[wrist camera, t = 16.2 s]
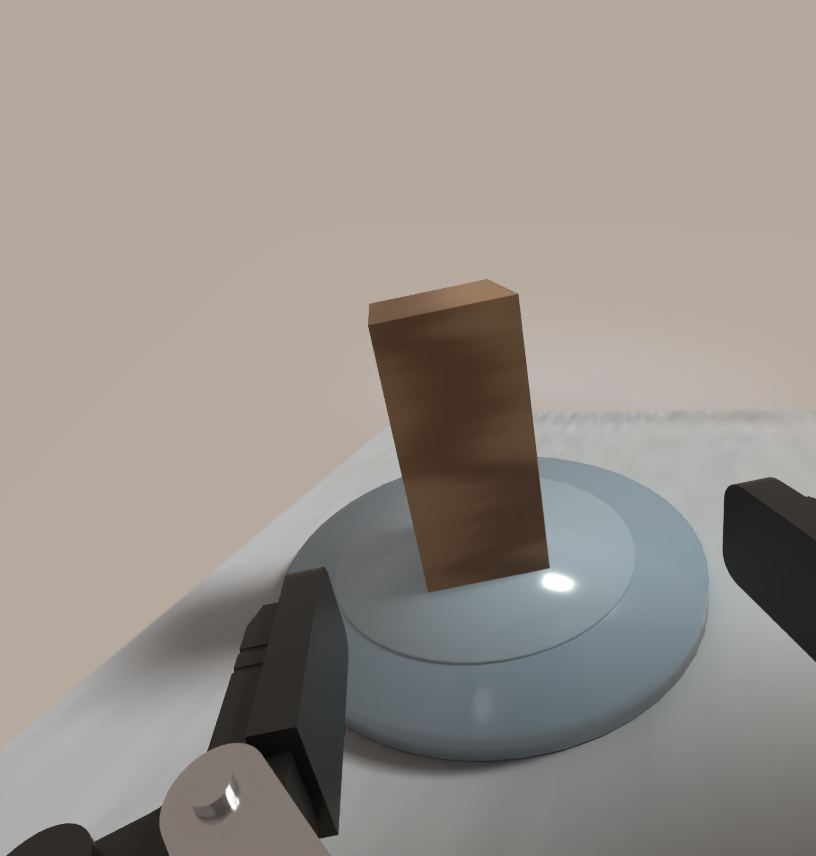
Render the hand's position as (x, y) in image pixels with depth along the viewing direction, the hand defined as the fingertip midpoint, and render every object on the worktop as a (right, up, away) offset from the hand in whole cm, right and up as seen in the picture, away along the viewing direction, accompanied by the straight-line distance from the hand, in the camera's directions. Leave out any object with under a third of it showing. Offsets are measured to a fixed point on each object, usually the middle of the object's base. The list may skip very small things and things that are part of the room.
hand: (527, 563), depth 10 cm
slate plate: (+1, -4, +13) cm, 14 cm away
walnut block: (+1, -3, +13) cm, 13 cm away
